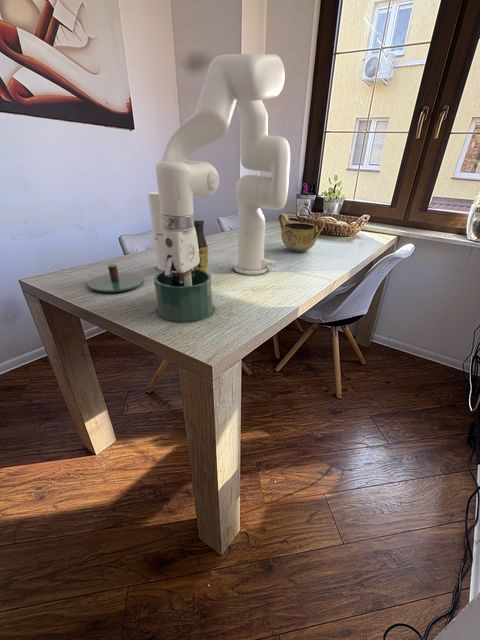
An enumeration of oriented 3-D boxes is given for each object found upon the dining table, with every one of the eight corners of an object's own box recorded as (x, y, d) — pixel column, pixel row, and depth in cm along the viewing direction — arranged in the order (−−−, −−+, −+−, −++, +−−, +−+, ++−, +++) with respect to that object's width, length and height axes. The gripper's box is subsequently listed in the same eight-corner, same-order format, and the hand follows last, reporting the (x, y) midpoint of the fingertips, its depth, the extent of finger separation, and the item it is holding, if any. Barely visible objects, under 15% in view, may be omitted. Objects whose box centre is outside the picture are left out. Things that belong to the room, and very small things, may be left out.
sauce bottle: (200, 286, 101) (196, 222, 91) (186, 282, 104) (180, 219, 93) (213, 281, 106) (210, 219, 95) (199, 277, 109) (195, 216, 98)
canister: (213, 299, 93) (212, 268, 88) (210, 322, 81) (209, 288, 76) (163, 298, 92) (159, 267, 87) (153, 322, 80) (148, 287, 74)
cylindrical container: (172, 271, 112) (164, 195, 98) (154, 269, 113) (143, 193, 99) (180, 265, 118) (174, 192, 104) (163, 263, 119) (154, 191, 105)
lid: (146, 276, 106) (144, 258, 103) (135, 294, 93) (131, 274, 90) (99, 275, 105) (95, 257, 101) (80, 293, 92) (75, 273, 88)
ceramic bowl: (326, 251, 147) (332, 217, 139) (311, 258, 135) (317, 222, 127) (285, 242, 157) (288, 210, 149) (268, 249, 144) (270, 214, 136)
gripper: (172, 230, 66) (180, 308, 76) (208, 218, 80) (210, 285, 90) (142, 226, 68) (154, 302, 78) (182, 215, 82) (187, 281, 92)
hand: (184, 292), depth 84 cm, fingers closed on sprinkles bottle, 4 cm apart
